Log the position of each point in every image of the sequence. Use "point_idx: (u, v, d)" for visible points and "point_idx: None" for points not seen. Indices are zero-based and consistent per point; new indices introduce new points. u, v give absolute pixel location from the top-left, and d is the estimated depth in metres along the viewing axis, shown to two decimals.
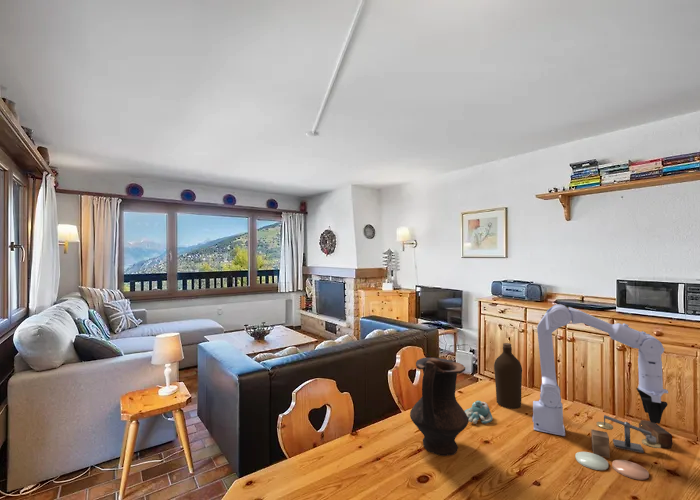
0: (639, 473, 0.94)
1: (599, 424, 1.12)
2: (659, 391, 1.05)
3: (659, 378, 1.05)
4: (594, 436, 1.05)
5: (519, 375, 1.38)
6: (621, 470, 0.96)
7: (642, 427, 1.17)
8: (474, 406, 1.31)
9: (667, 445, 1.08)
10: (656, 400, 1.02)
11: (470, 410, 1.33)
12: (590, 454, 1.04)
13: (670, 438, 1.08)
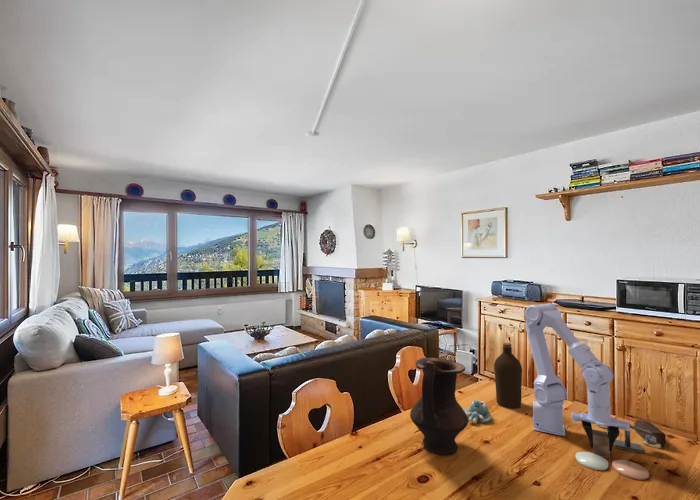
0: (639, 473, 0.94)
1: None
2: (590, 418, 1.06)
3: (591, 406, 1.06)
4: (594, 436, 1.05)
5: (519, 375, 1.38)
6: (621, 470, 0.96)
7: (637, 426, 1.17)
8: (473, 406, 1.31)
9: (660, 444, 1.08)
10: None
11: (468, 410, 1.33)
12: (590, 454, 1.04)
13: (663, 438, 1.08)
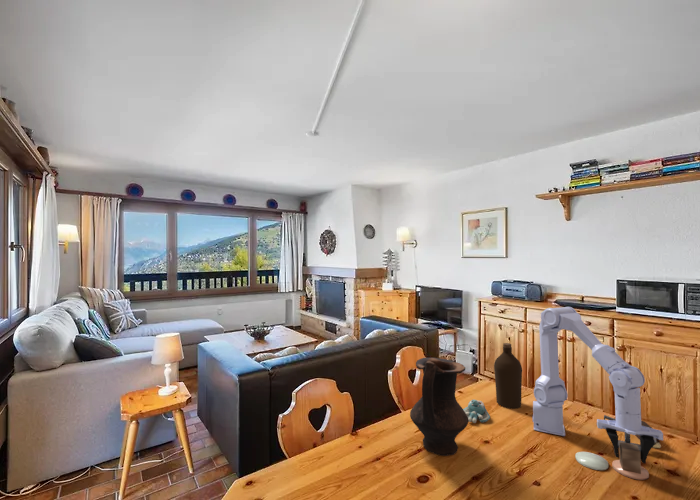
0: None
1: None
2: (618, 426, 0.97)
3: (619, 412, 0.97)
4: (623, 449, 0.96)
5: (519, 375, 1.38)
6: (621, 470, 0.96)
7: None
8: (471, 405, 1.31)
9: None
10: (597, 424, 1.01)
11: (466, 410, 1.33)
12: (590, 454, 1.04)
13: None
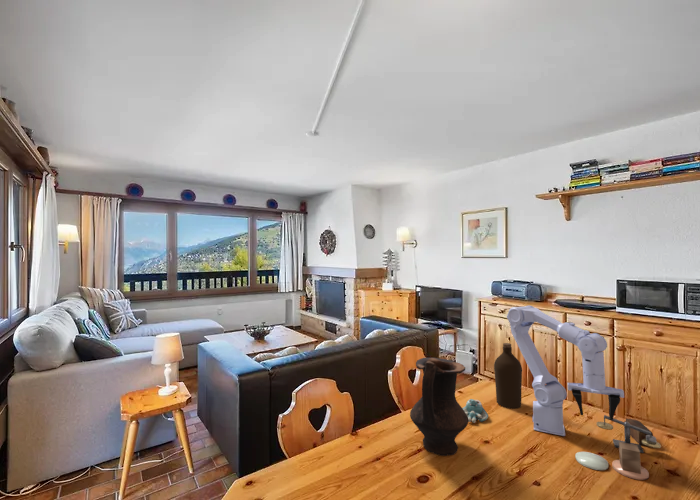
0: None
1: (599, 424, 1.12)
2: (585, 387, 1.08)
3: (586, 374, 1.08)
4: (623, 450, 0.96)
5: (519, 375, 1.38)
6: (621, 470, 0.96)
7: None
8: (469, 405, 1.32)
9: None
10: None
11: (464, 409, 1.33)
12: (590, 454, 1.04)
13: None
